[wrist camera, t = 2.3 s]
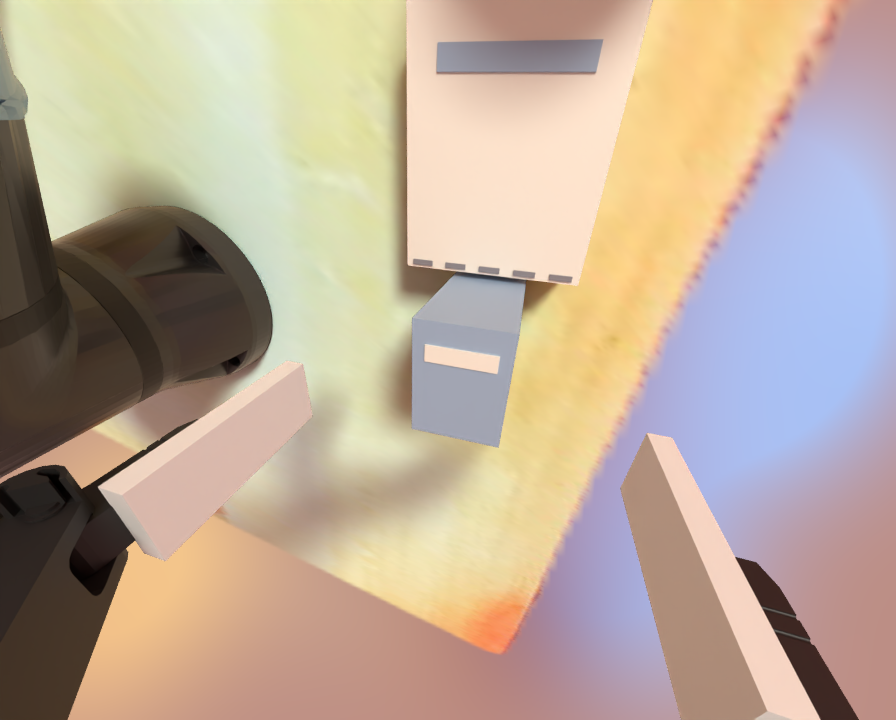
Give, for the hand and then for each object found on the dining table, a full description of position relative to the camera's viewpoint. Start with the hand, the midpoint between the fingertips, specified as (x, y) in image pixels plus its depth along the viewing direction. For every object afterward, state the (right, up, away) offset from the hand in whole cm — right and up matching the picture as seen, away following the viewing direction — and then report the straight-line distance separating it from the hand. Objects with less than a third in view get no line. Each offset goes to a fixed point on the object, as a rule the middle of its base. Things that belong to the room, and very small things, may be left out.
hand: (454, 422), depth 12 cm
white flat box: (+3, +15, +6) cm, 17 cm away
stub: (+3, +6, +11) cm, 13 cm away
